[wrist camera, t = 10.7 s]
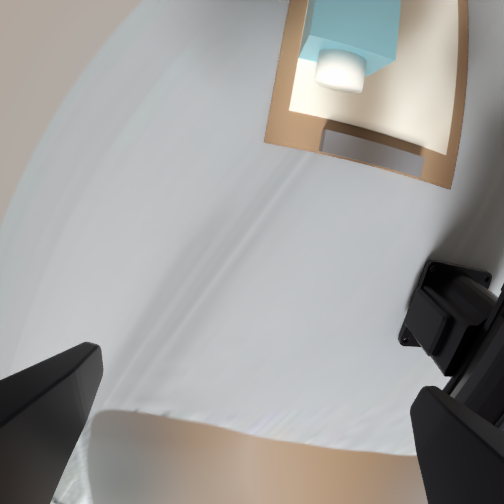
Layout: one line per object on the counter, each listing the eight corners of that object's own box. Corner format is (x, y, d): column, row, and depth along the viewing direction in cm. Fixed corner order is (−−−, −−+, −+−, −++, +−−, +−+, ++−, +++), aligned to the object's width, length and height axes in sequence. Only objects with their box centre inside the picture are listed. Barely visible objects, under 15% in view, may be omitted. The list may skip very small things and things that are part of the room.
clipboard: (464, -4, 13) (474, -10, 12) (447, 188, 18) (458, 192, 16) (302, -64, 12) (304, -75, 11) (263, 142, 17) (264, 142, 16)
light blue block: (317, -50, 12) (329, -85, 9) (379, -32, 13) (402, -61, 9) (293, 84, 16) (303, 66, 12) (363, 101, 16) (391, 91, 12)
